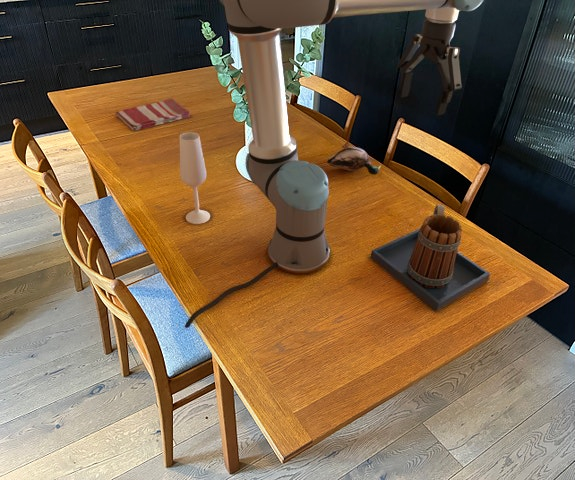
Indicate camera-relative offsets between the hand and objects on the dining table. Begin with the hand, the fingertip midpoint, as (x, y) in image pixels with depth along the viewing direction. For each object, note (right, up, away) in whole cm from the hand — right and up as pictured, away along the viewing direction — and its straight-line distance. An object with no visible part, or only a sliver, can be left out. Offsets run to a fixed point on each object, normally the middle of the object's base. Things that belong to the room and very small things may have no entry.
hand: (421, 105), depth 125 cm
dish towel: (-87, +11, +54) cm, 103 cm away
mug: (-2, -43, -11) cm, 45 cm away
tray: (-2, -43, -11) cm, 45 cm away
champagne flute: (-61, -30, +3) cm, 68 cm away
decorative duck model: (-15, -15, +25) cm, 33 cm away
